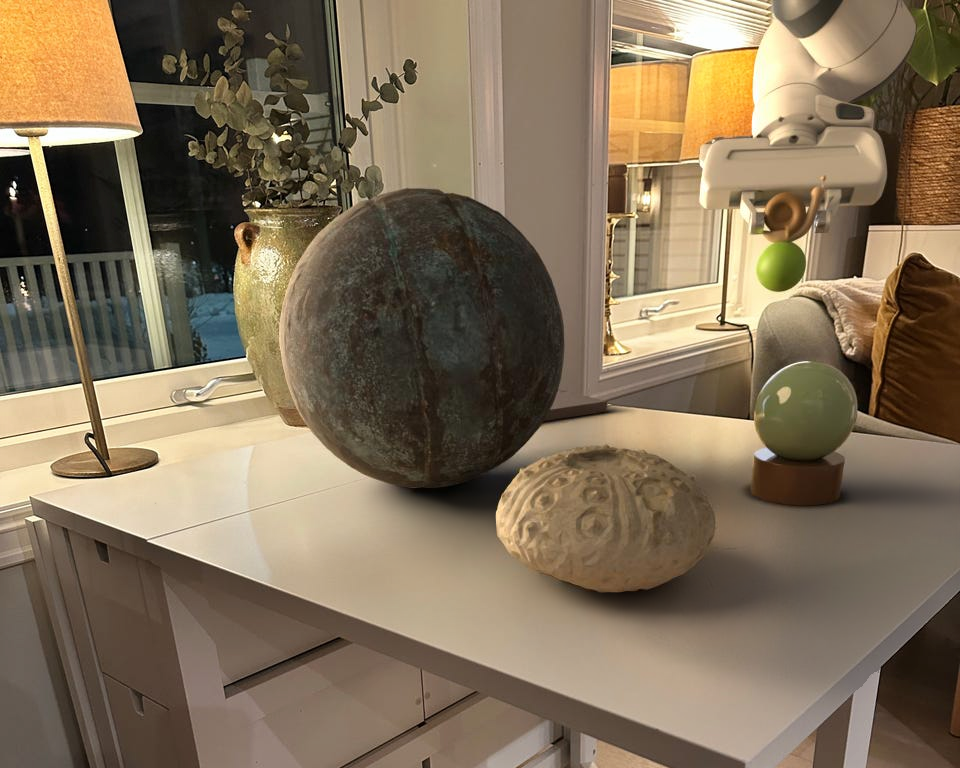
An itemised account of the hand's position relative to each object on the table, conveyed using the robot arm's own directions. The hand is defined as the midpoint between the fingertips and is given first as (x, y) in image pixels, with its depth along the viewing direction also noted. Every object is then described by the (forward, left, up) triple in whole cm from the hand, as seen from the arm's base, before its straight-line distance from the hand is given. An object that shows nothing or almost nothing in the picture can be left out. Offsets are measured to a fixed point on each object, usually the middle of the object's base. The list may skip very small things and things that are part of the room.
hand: (790, 229), depth 103 cm
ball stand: (+13, +13, -25) cm, 31 cm away
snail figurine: (-1, 0, -7) cm, 7 cm away
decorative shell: (+45, +17, -25) cm, 54 cm away
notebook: (+8, -38, -25) cm, 46 cm away
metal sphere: (+40, -16, -25) cm, 50 cm away
